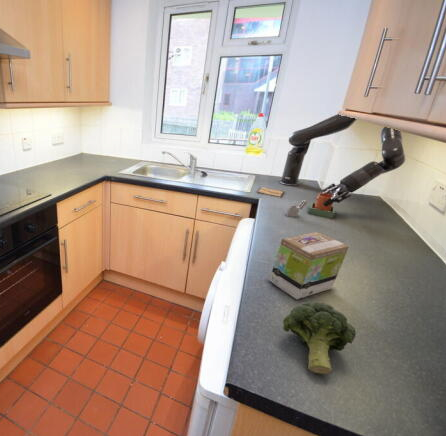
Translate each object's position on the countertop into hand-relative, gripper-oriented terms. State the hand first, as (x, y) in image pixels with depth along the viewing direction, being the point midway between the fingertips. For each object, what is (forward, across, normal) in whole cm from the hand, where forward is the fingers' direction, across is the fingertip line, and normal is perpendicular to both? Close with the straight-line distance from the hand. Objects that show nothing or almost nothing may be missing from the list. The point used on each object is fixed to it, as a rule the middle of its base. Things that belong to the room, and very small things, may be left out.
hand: (320, 202), depth 142 cm
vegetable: (+33, -93, +25) cm, 102 cm away
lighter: (+13, -7, +5) cm, 16 cm away
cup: (+3, 0, -5) cm, 6 cm away
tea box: (+27, -67, +19) cm, 75 cm away
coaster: (+13, +29, +5) cm, 33 cm away
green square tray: (+3, 0, -5) cm, 6 cm away
